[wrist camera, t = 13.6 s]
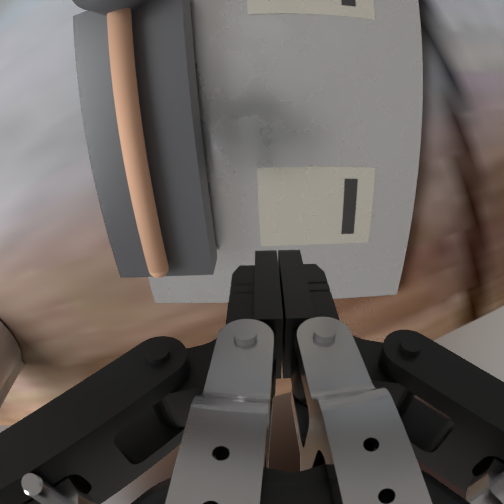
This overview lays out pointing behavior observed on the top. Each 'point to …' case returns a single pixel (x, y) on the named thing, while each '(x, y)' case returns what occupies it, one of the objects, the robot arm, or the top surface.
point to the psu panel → (308, 138)
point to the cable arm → (145, 134)
